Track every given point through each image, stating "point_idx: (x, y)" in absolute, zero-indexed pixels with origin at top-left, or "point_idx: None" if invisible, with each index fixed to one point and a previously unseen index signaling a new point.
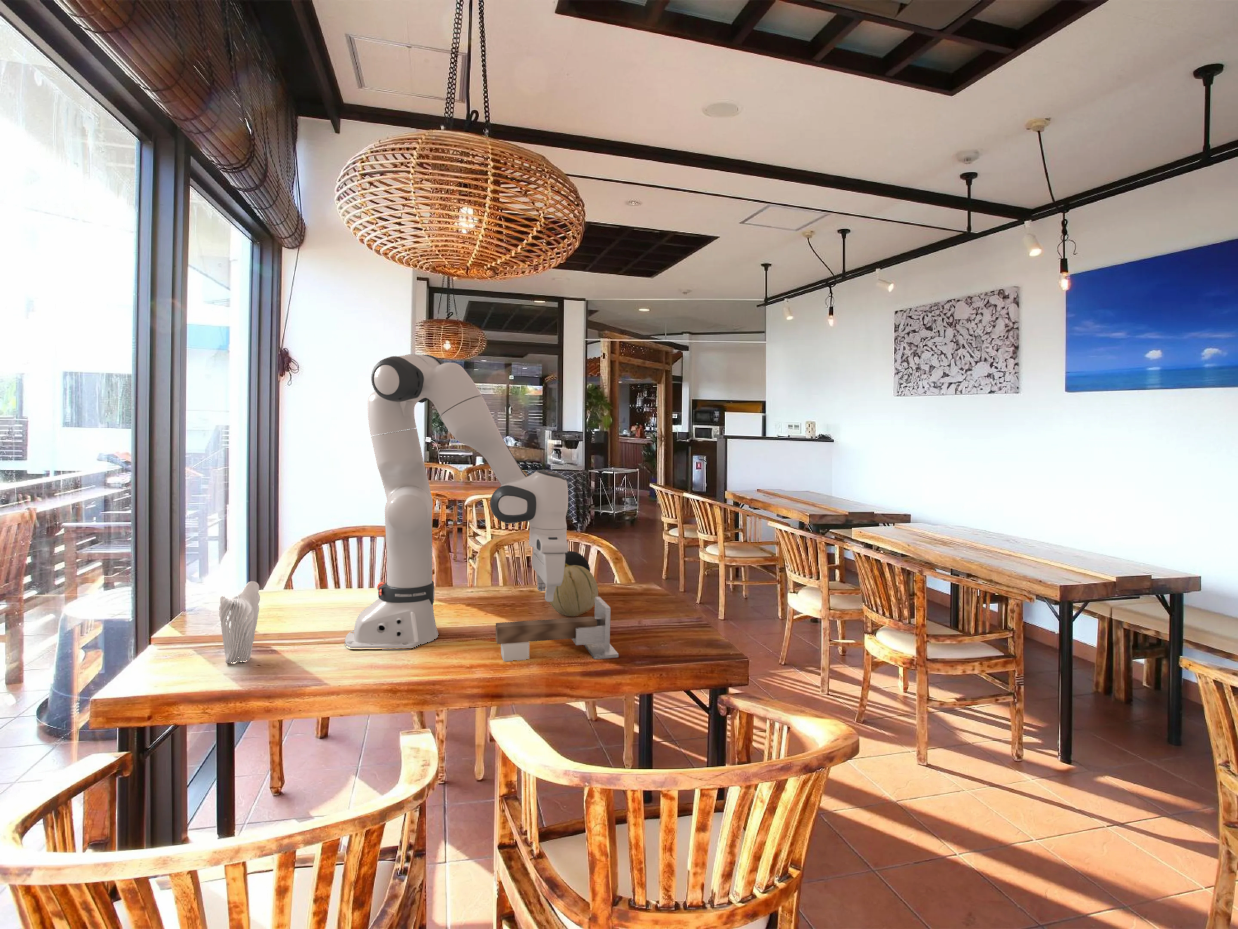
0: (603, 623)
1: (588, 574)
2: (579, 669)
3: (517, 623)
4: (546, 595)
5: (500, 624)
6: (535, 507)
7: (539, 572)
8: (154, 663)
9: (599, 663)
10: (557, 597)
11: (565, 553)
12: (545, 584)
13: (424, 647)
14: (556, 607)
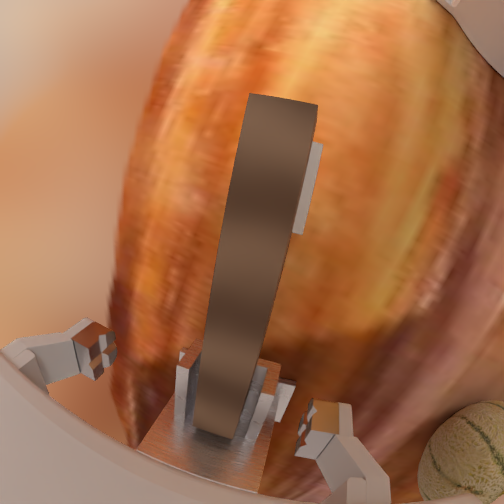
0: (174, 424)
1: None
2: (141, 290)
3: (266, 192)
4: (66, 331)
5: (284, 115)
6: None
7: (76, 460)
8: None
9: (160, 342)
10: (478, 426)
11: None
12: (295, 453)
13: (441, 17)
14: (477, 407)
